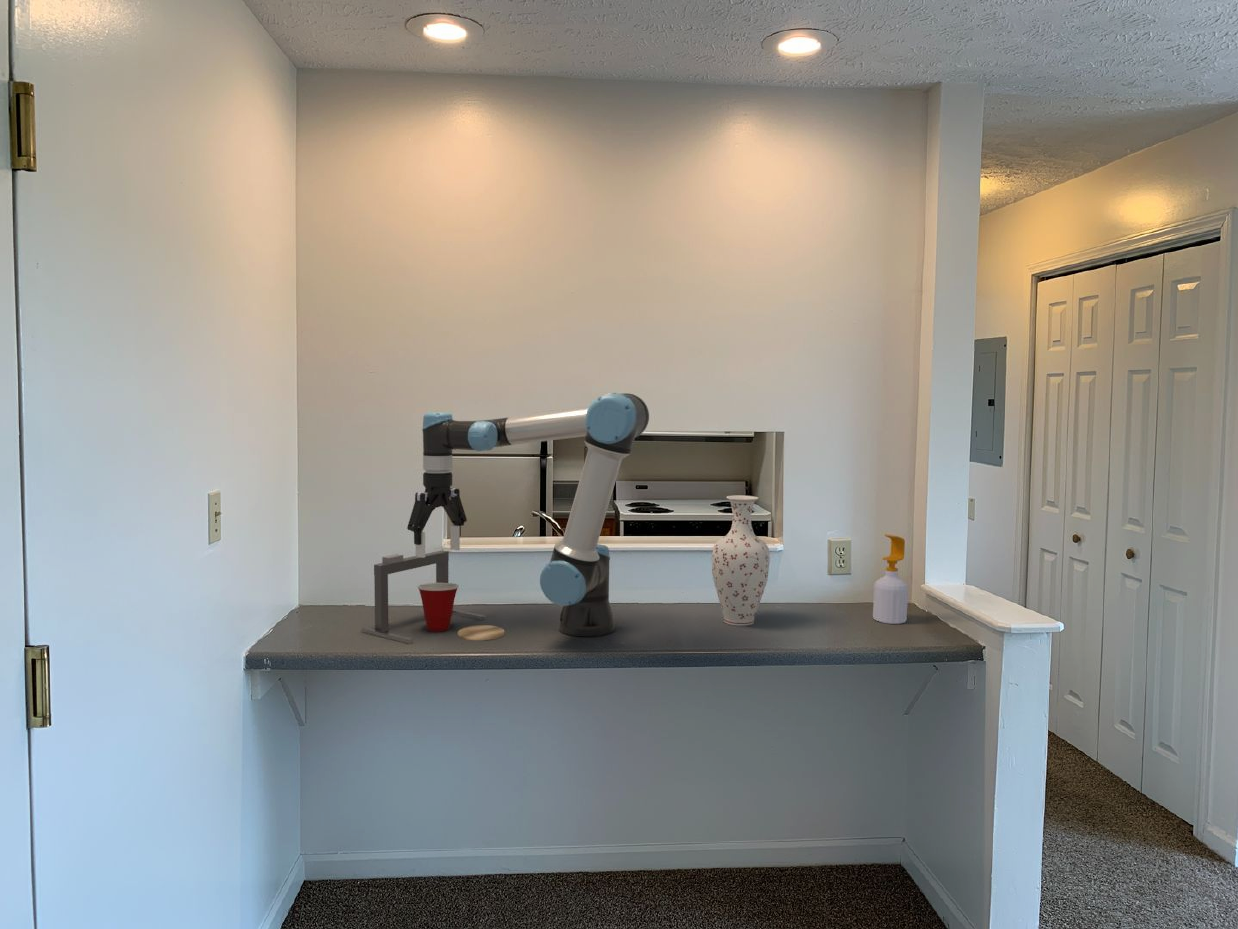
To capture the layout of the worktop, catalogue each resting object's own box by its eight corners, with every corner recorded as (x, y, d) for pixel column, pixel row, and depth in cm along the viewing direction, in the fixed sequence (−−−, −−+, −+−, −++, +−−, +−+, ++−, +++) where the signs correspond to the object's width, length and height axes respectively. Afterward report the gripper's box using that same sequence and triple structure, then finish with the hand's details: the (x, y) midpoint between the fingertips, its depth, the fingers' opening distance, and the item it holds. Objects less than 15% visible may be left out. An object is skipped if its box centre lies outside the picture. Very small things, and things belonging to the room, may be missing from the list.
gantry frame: (448, 612, 243) (448, 545, 241) (381, 632, 222) (380, 559, 221) (442, 611, 244) (441, 544, 242) (374, 631, 224) (373, 558, 222)
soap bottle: (866, 619, 243) (870, 533, 241) (884, 614, 250) (887, 530, 247) (895, 626, 237) (899, 538, 235) (912, 620, 243) (916, 535, 241)
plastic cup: (462, 623, 234) (462, 580, 232) (455, 634, 223) (454, 589, 222) (422, 622, 234) (422, 579, 232) (413, 634, 223) (412, 588, 222)
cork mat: (513, 632, 226) (514, 630, 225) (482, 643, 216) (482, 641, 215) (479, 625, 232) (479, 622, 232) (448, 635, 222) (448, 633, 222)
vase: (699, 617, 243) (702, 494, 240) (748, 611, 250) (751, 492, 247) (728, 632, 229) (732, 502, 225) (779, 626, 235) (783, 499, 232)
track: (485, 619, 238) (485, 615, 238) (409, 643, 214) (409, 640, 214) (438, 609, 247) (438, 606, 247) (361, 631, 224) (360, 628, 224)
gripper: (459, 467, 236) (459, 544, 238) (392, 474, 216) (393, 558, 218) (480, 469, 232) (480, 547, 234) (413, 476, 212) (413, 562, 214)
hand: (438, 553), depth 226 cm, fingers open, 12 cm apart
